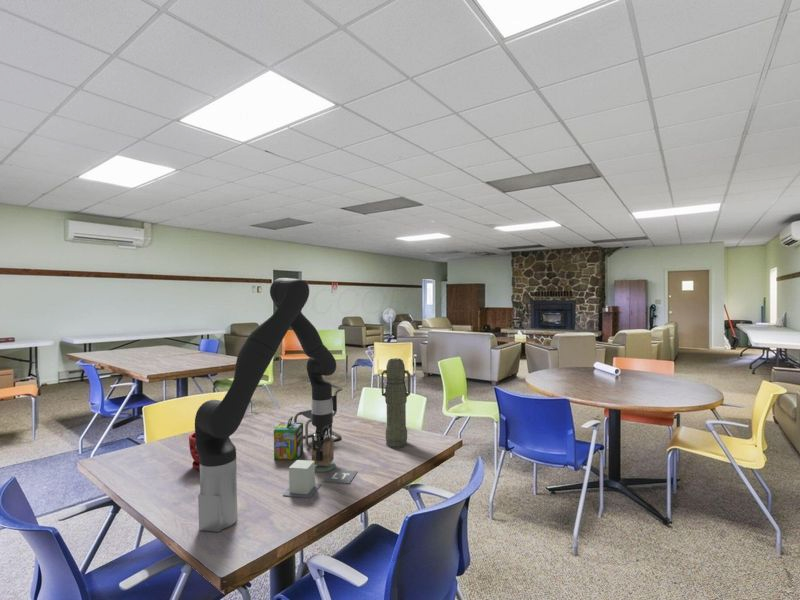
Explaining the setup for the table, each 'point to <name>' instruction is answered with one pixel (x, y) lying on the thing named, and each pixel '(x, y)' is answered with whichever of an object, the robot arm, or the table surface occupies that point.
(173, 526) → the table surface
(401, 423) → the thermos
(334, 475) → the tile
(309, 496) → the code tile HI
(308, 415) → the chair
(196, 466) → the plant pot
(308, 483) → the sage block
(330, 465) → the rubber coaster
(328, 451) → the walnut block
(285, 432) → the chalk box
